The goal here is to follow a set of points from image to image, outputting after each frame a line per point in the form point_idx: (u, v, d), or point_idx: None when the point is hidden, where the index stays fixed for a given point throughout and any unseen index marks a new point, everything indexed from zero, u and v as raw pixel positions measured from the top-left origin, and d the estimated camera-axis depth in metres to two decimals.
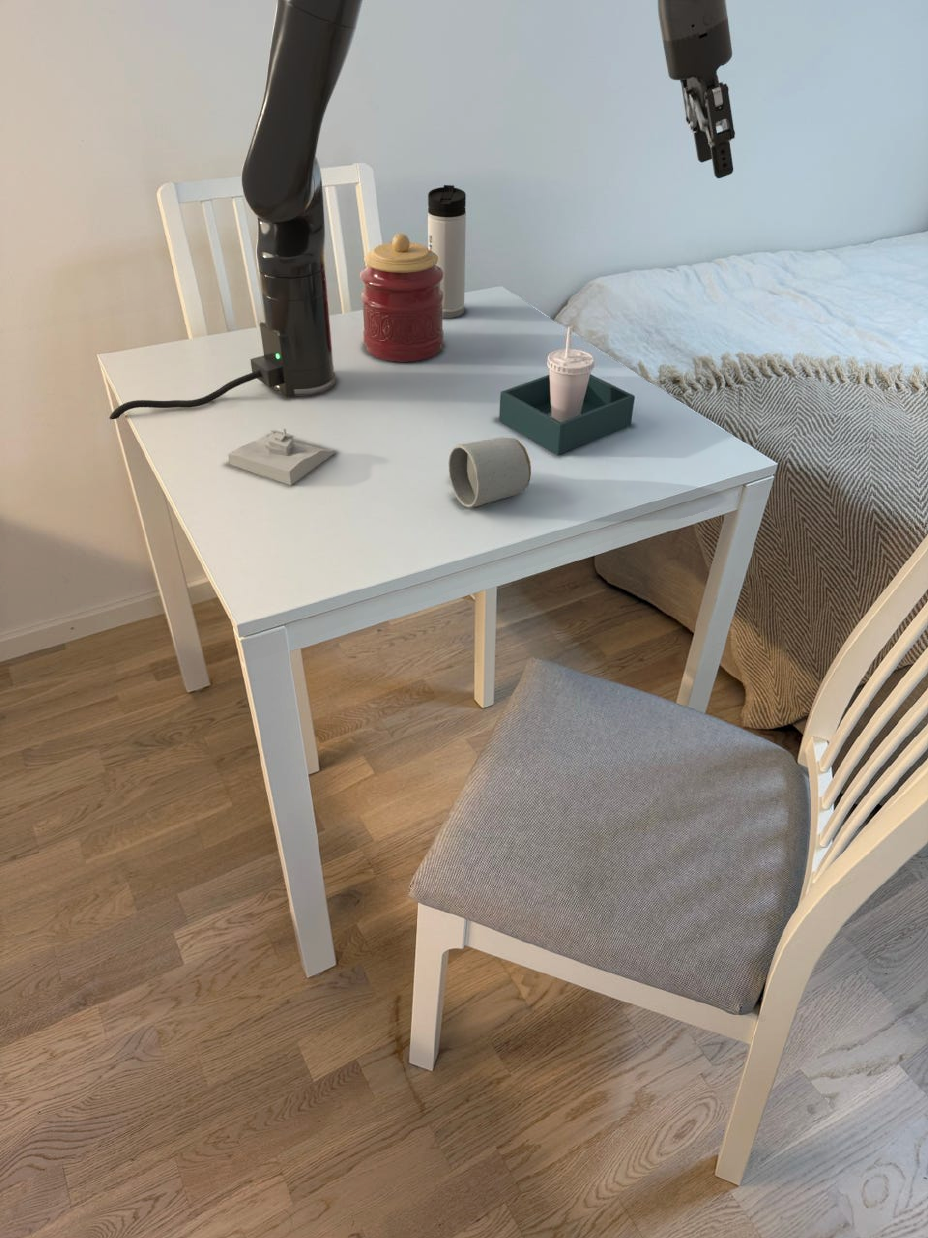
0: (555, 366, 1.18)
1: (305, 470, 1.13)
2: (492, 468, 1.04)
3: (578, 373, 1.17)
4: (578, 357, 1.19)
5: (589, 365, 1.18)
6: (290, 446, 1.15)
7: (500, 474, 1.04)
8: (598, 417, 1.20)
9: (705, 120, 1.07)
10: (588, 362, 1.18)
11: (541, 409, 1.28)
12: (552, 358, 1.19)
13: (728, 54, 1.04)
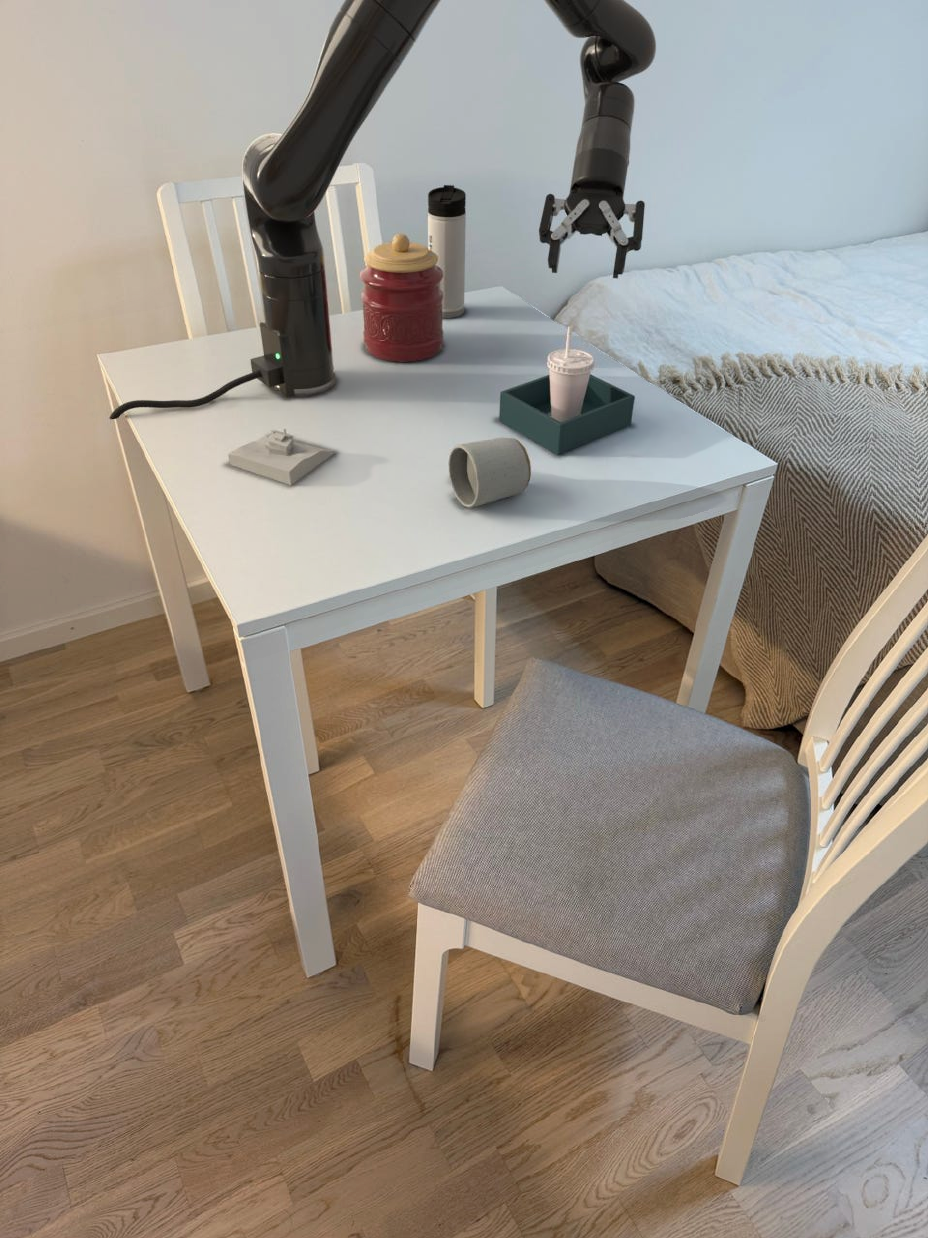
0: (555, 366, 1.18)
1: (305, 470, 1.13)
2: (492, 468, 1.04)
3: (578, 373, 1.17)
4: (578, 356, 1.19)
5: (589, 365, 1.18)
6: (290, 446, 1.15)
7: (500, 474, 1.04)
8: (598, 417, 1.20)
9: None
10: (588, 362, 1.18)
11: (541, 409, 1.28)
12: (552, 358, 1.19)
13: None
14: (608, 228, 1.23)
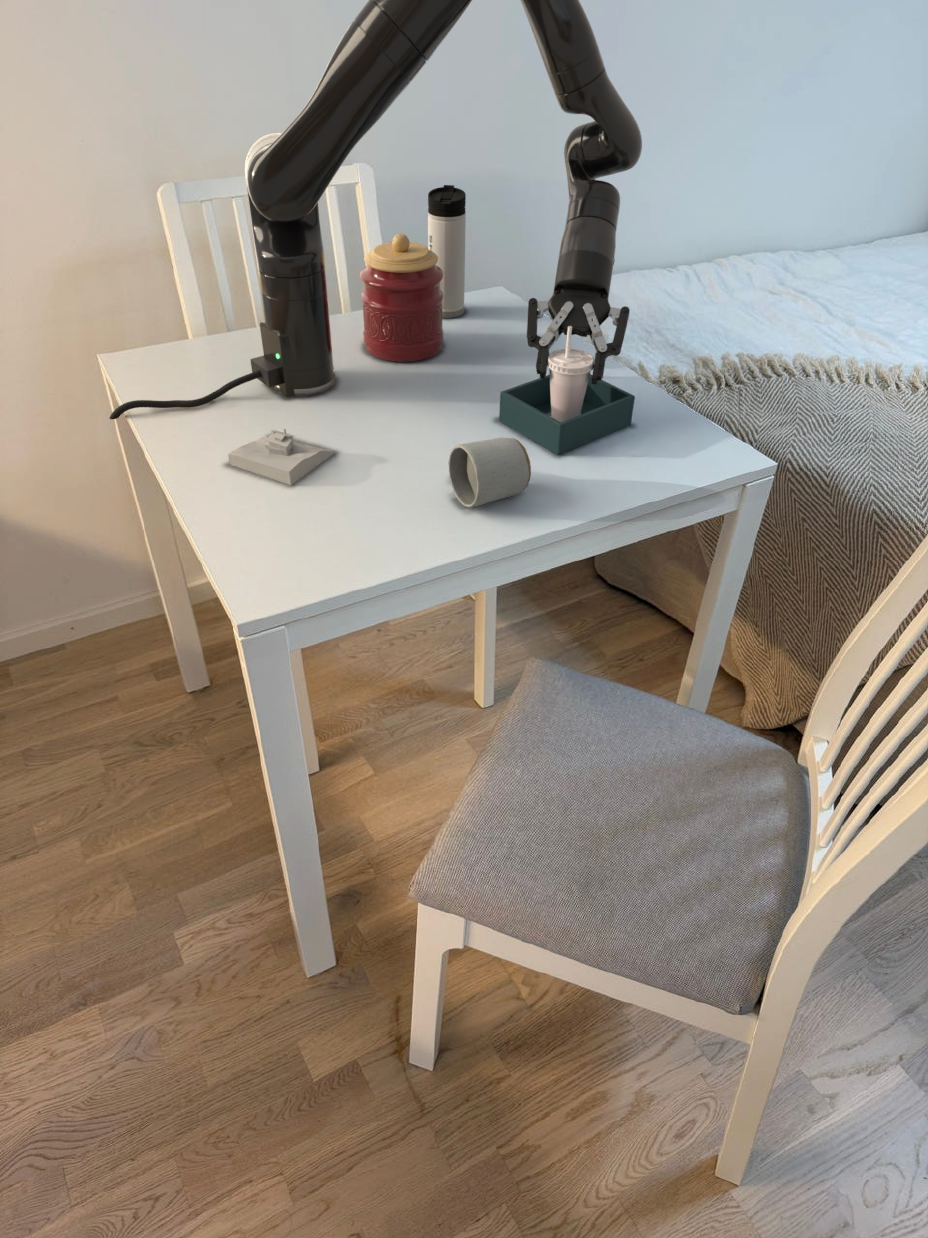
0: (555, 366, 1.18)
1: (305, 470, 1.13)
2: (492, 468, 1.04)
3: (578, 373, 1.17)
4: (578, 357, 1.19)
5: (589, 365, 1.18)
6: (290, 446, 1.15)
7: (500, 474, 1.04)
8: (598, 417, 1.20)
9: (600, 329, 1.18)
10: (588, 362, 1.18)
11: (541, 409, 1.28)
12: (552, 358, 1.19)
13: None
14: None
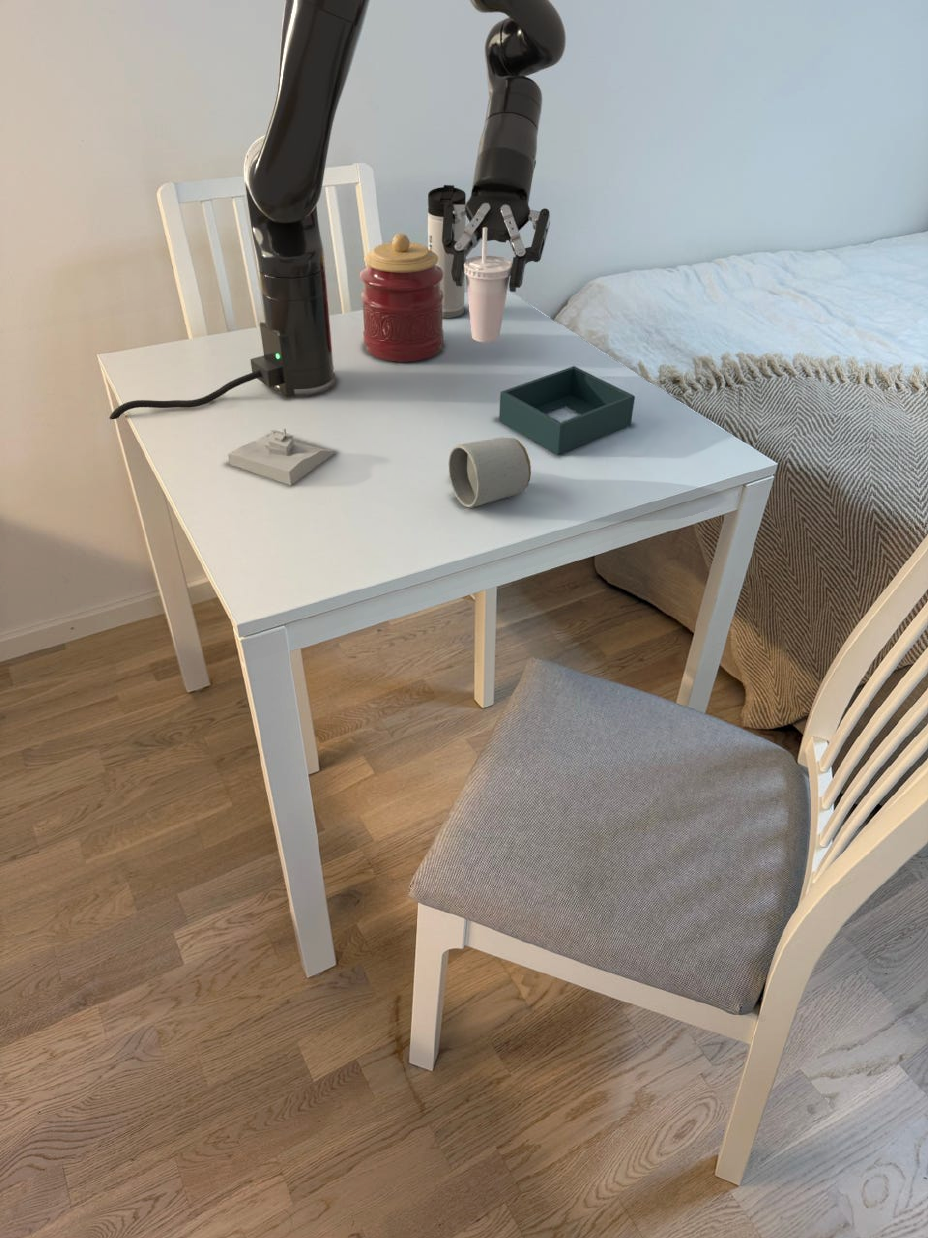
0: (470, 271, 1.11)
1: (305, 470, 1.13)
2: (492, 468, 1.04)
3: (494, 278, 1.11)
4: (496, 262, 1.13)
5: (506, 270, 1.11)
6: (290, 446, 1.15)
7: (500, 474, 1.04)
8: (598, 417, 1.20)
9: None
10: (505, 267, 1.12)
11: (541, 409, 1.28)
12: (468, 263, 1.13)
13: None
14: None
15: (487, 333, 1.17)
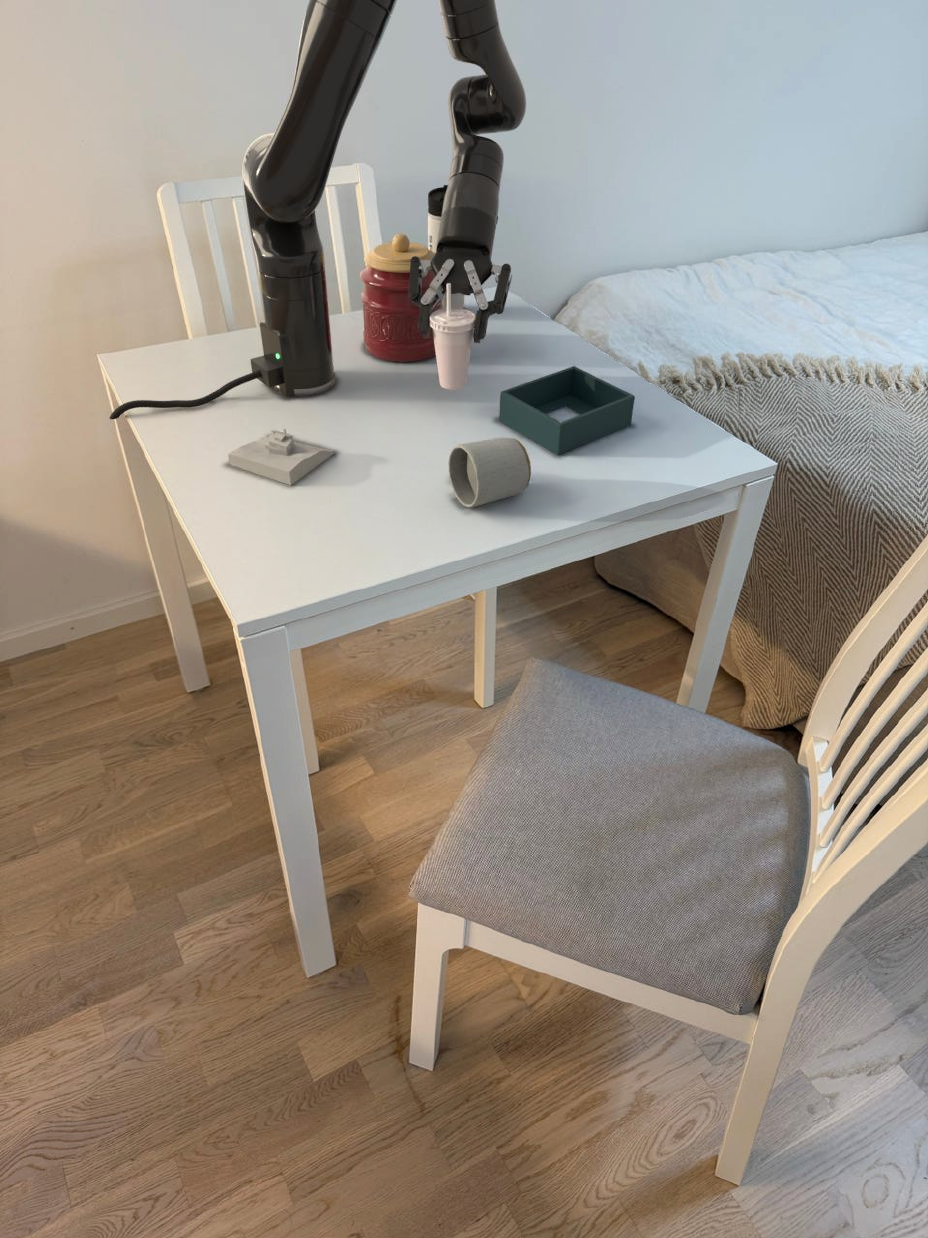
0: (435, 324, 1.17)
1: (305, 470, 1.13)
2: (492, 468, 1.04)
3: (458, 331, 1.16)
4: (460, 315, 1.18)
5: (469, 323, 1.17)
6: (290, 446, 1.15)
7: (500, 474, 1.04)
8: (598, 417, 1.20)
9: (481, 287, 1.17)
10: (469, 320, 1.17)
11: (541, 409, 1.28)
12: (434, 316, 1.18)
13: None
14: None
15: (454, 381, 1.22)
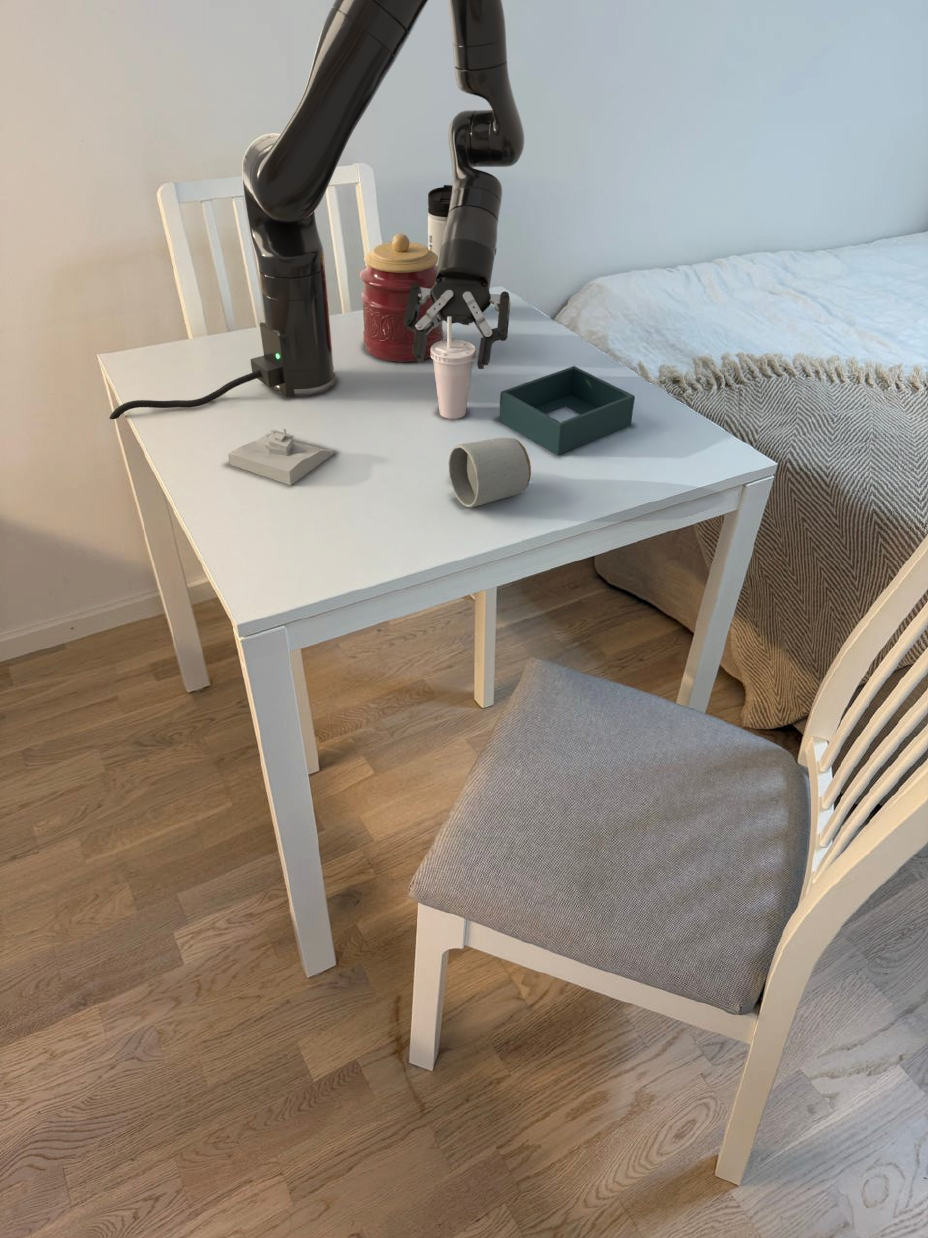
0: (436, 356, 1.20)
1: (305, 470, 1.13)
2: (492, 468, 1.04)
3: (458, 363, 1.19)
4: (460, 347, 1.21)
5: (469, 355, 1.19)
6: (290, 446, 1.15)
7: (500, 474, 1.04)
8: (598, 417, 1.20)
9: None
10: (469, 352, 1.20)
11: (541, 409, 1.28)
12: (434, 348, 1.21)
13: None
14: (473, 318, 1.21)
15: (454, 411, 1.25)
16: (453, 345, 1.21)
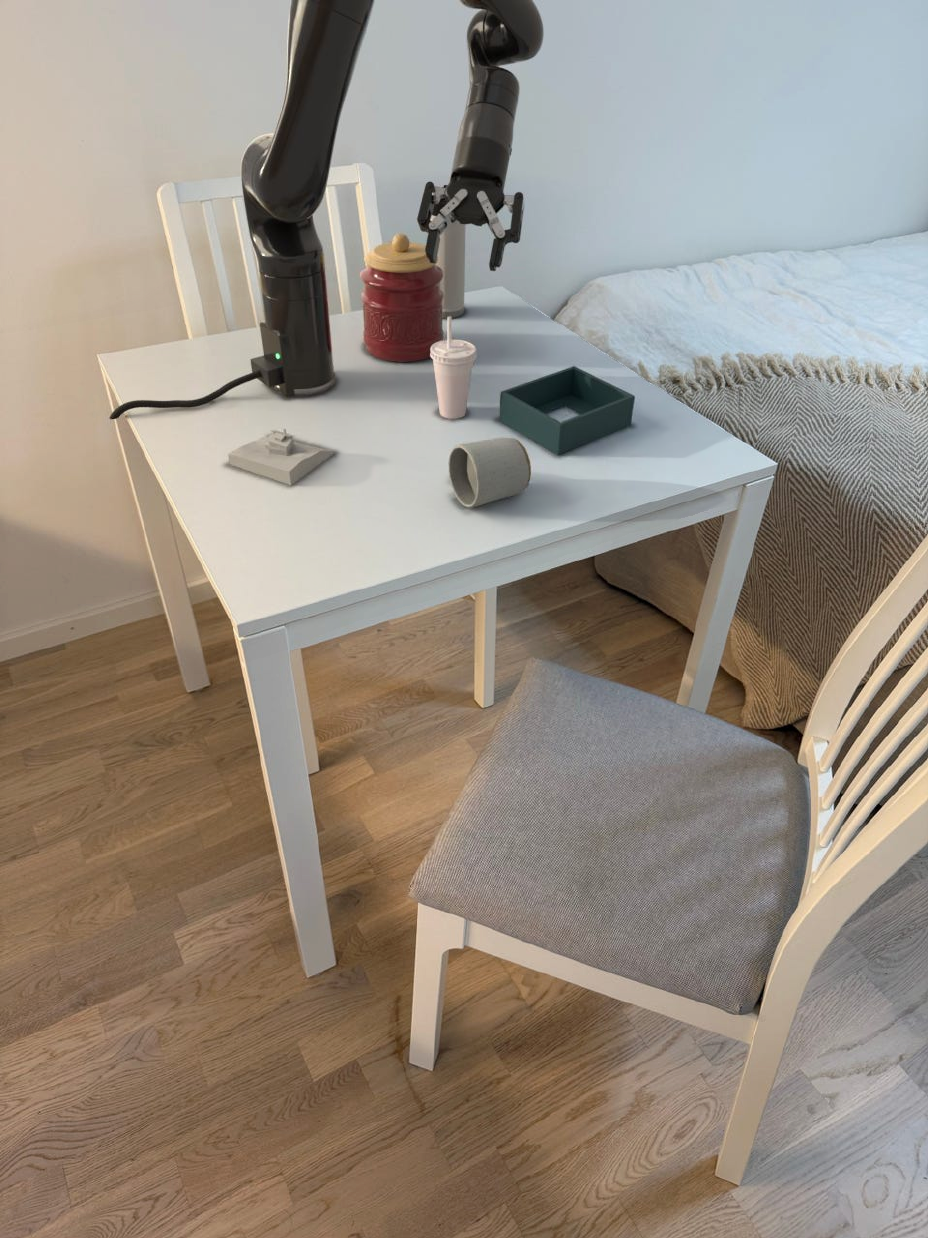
0: (436, 356, 1.20)
1: (305, 470, 1.13)
2: (492, 468, 1.04)
3: (458, 363, 1.19)
4: (460, 347, 1.21)
5: (469, 355, 1.19)
6: (290, 446, 1.15)
7: (500, 474, 1.04)
8: (598, 417, 1.20)
9: (496, 216, 1.20)
10: (469, 352, 1.20)
11: (541, 409, 1.28)
12: (434, 348, 1.21)
13: None
14: (487, 219, 1.21)
15: (454, 411, 1.25)
16: (453, 345, 1.21)
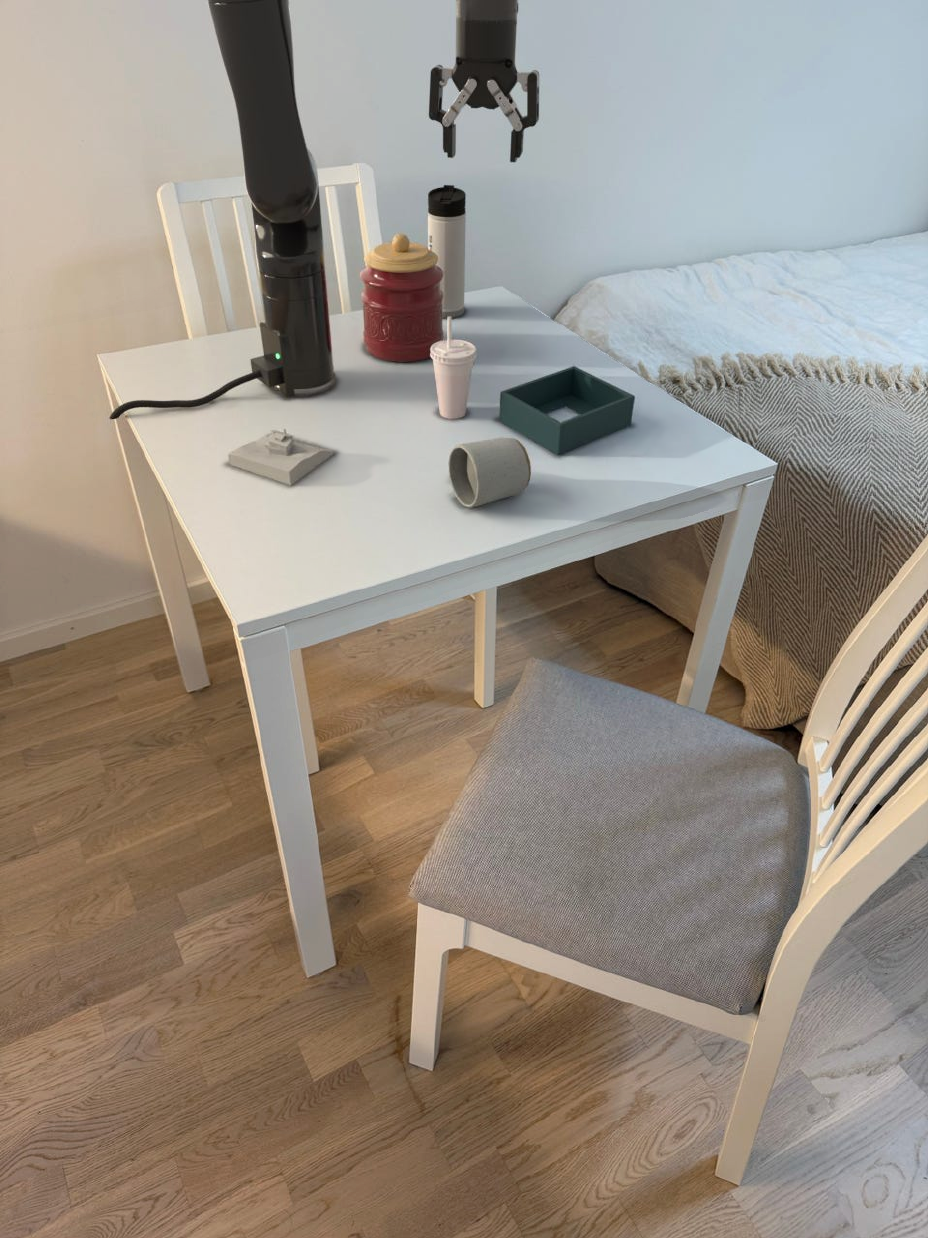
0: (436, 356, 1.20)
1: (305, 470, 1.13)
2: (492, 468, 1.04)
3: (458, 363, 1.19)
4: (460, 347, 1.21)
5: (469, 355, 1.19)
6: (290, 446, 1.15)
7: (500, 474, 1.04)
8: (598, 417, 1.20)
9: (511, 104, 1.13)
10: (469, 352, 1.20)
11: (541, 409, 1.28)
12: (434, 348, 1.21)
13: None
14: None
15: (454, 411, 1.25)
16: (453, 345, 1.21)
